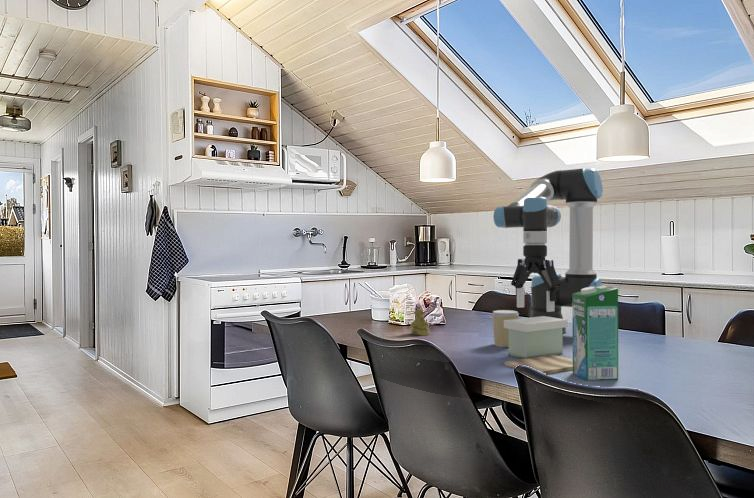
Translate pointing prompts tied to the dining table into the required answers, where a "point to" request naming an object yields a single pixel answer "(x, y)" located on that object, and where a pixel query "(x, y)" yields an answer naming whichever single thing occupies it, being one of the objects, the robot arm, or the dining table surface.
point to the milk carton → (595, 332)
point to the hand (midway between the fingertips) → (535, 309)
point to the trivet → (545, 363)
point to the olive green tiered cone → (419, 324)
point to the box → (535, 343)
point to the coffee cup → (502, 326)
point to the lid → (535, 323)
